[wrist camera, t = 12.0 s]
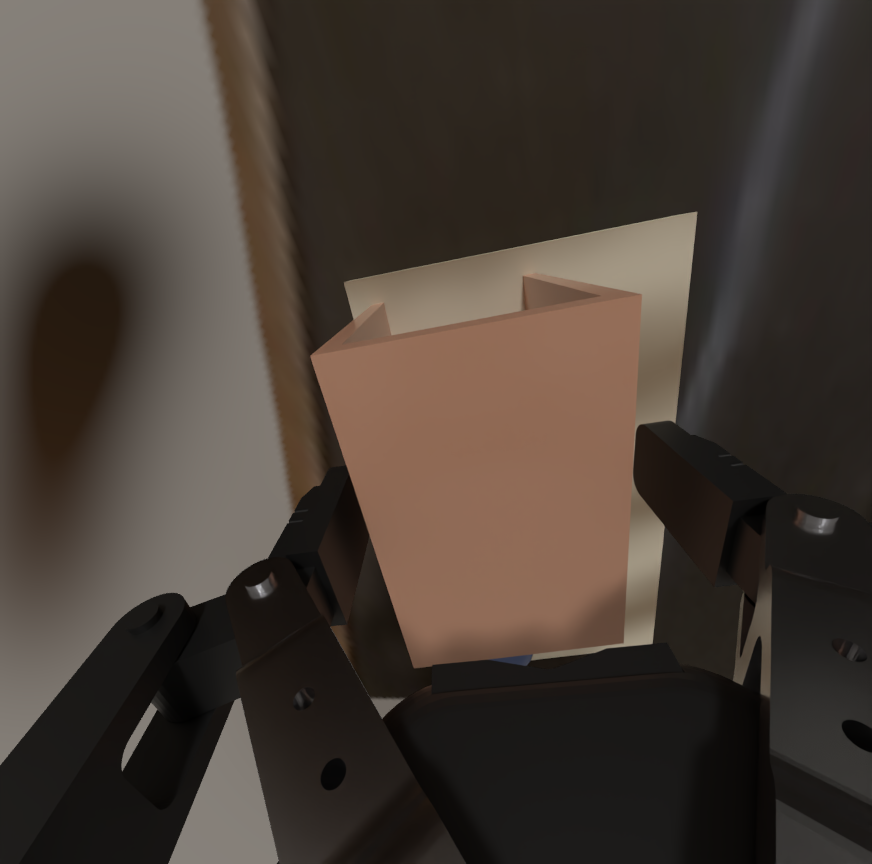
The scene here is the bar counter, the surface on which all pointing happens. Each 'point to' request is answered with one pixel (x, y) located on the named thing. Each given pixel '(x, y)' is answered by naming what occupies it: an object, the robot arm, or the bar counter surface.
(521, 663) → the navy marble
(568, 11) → the bar counter surface
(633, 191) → the bar counter surface
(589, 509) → the terracotta cover
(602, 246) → the birch mat
